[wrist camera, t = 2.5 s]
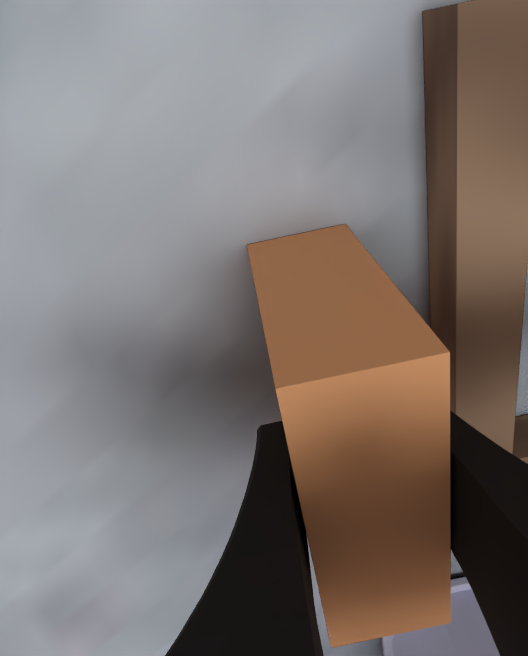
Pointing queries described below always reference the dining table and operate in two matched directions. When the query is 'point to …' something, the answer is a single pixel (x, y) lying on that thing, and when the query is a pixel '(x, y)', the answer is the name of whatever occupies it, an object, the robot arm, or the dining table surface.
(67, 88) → the dining table surface
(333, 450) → the orange arch block
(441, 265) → the brown wooden frame
